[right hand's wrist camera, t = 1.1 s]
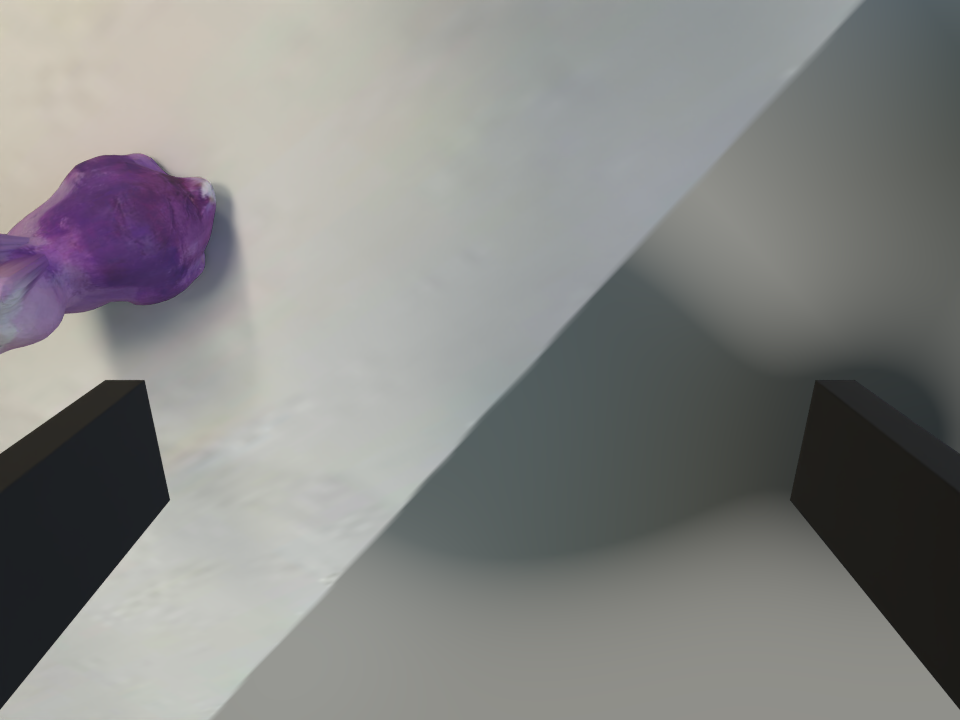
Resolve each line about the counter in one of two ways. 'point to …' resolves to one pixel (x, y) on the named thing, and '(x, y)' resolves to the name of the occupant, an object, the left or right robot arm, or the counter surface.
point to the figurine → (102, 245)
